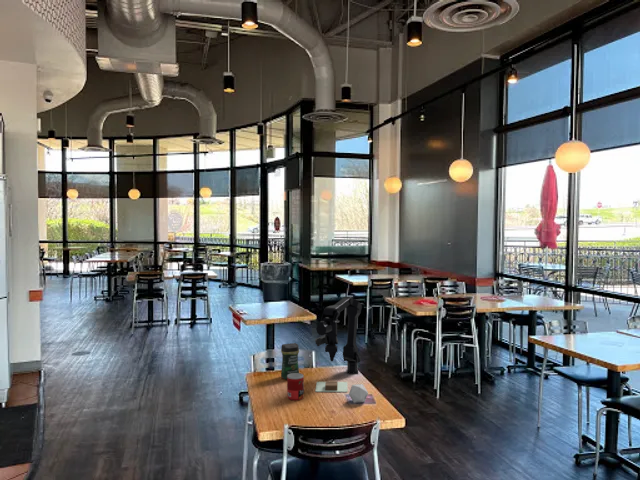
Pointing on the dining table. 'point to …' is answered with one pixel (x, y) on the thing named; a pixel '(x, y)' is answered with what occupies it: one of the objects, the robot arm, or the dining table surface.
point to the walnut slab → (331, 385)
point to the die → (358, 393)
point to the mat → (321, 388)
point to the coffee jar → (289, 359)
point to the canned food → (295, 386)
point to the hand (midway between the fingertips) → (331, 361)
